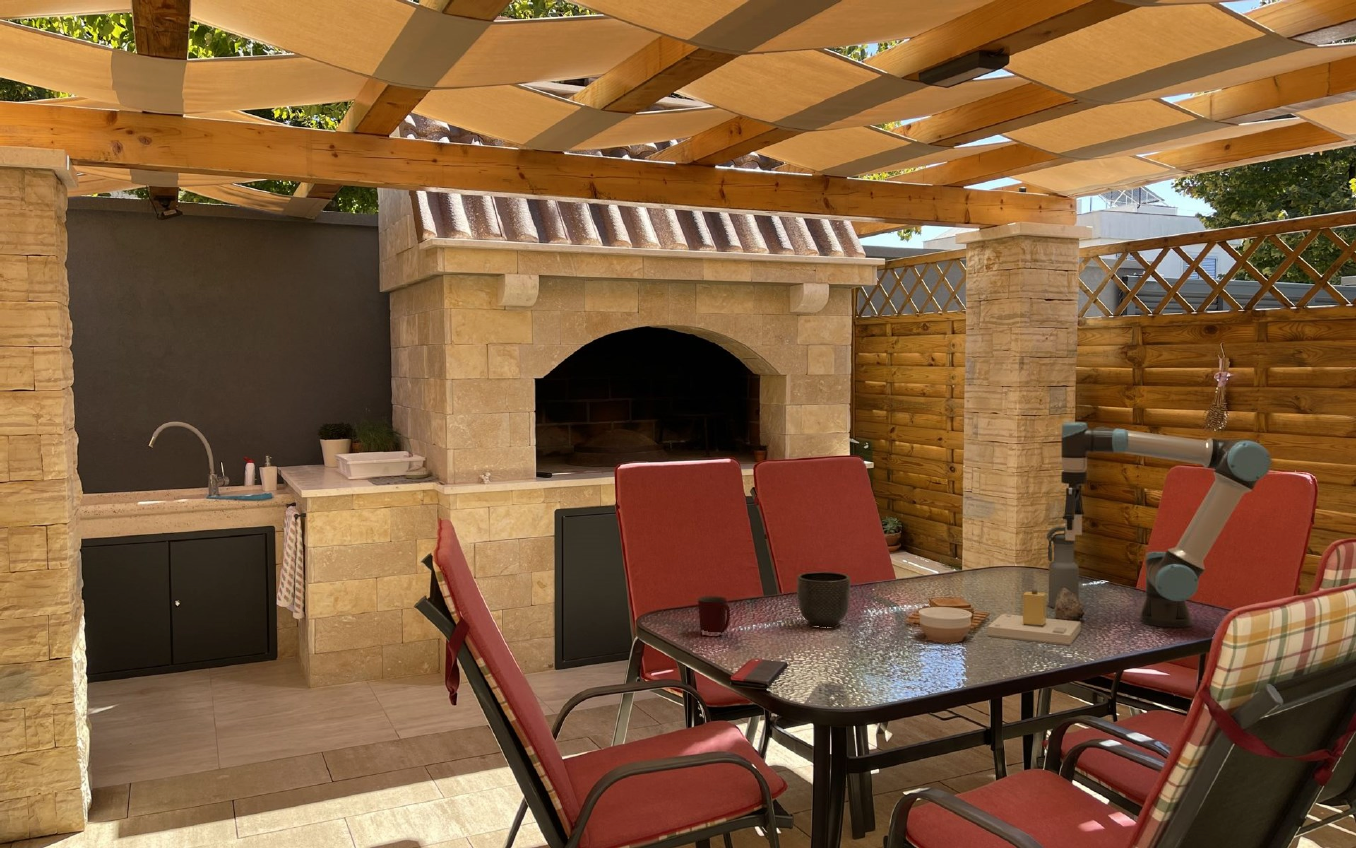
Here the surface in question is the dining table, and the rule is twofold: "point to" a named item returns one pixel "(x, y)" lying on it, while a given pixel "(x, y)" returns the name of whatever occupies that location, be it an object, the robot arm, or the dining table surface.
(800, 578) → the planter
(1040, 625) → the plug
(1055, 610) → the rock
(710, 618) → the mug
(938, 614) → the bowl
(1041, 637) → the socket plate
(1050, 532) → the water bottle
